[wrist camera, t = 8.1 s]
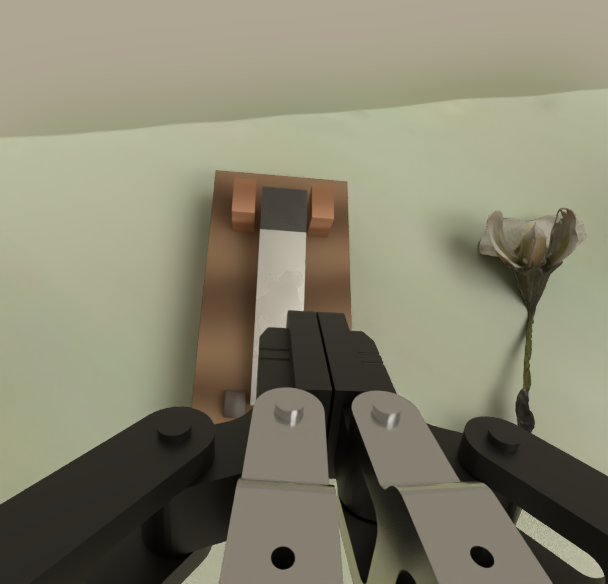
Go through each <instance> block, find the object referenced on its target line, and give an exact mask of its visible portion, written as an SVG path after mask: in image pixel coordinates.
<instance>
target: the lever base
mask: <svg viewBox="0 0 608 584" xmlns="http://www.w3.org/2000/svg"><path fill="white" fill-rule="evenodd" d="M262 187H275V188H287V189H299V190H307V223H306V256H305V290H304V311H315V313H316V312H336V313H344V314H345V317H346V320H347V323H348V326H349V329H350V331H352V327H351V293H350V259H349V225H348V191H347V182H346V181H334V180H323V179H311V178H299V177H288V176H276V175H265V174H253V173H241V172H230V171H218V170H216V173H215V183H214V193H213V202H212V212H211V222H210V231H209V241H208V251H207V261H206V270H205V280H204V290H203V300H202V309H201V319H200V329H199V338H198V348H197V358H196V368H195V377H194V387H193V397H192V406H191V408H194V409H197V410H200V411H202V412H204V413H205V414H207V415H208V416H209V417H210V418H211V419H212V421H213V423H214V424H218V423H223V422H227V421H231V420H234V419H237V418H239V417H241V416H243V415H244V414H246V413H247V412H249V411H250V410H251V409H252V407H253V406H254V405H250V399H251V381H252V363H253V345H254V327H255V309H256V292H257V274H258V256H259V238H260V220H261V202H262Z"/></svg>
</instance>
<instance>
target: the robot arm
mask: <svg viewBox="0 0 608 584" xmlns="http://www.w3.org/2000/svg"><path fill="white" fill-rule="evenodd" d="M329 479H336V481H337V487H338V490H337V496H336V490H335V487H334V485H329ZM522 509H523V510H525V511H526V512H527V513H529V514H530V515H532V516H533V517H535V518H536V519H538V520H539V521H541V522H542V523H544V524H545V525H547V526H548V527H550V528H551V529H553V530H554V531H555V532H557V533H558V534H560V535H561V536H563V537H564V538H566V539H567V540H569V541H570V542H572V543H573V544H575V545H576V546H578V547H579V548H580V549H582V550H583V551H585V552H586V553H588V554H589V555H590V556H591V557H593V558H594V559H595V560H596V562H597V563H598V564H599V565H600V567H601V569H602V570H603V573H604V575H605V576H604V577H602V578H591V577H588V576H585V575H583V574H582V573H580V572H578V571H577V570H576V569H574V568H573V567H571V566H570V565H569V564H567V563H566V562H564V561H563V560H562V559H560V558H559V557H557V556H556V555H555V554H553V553H552V552H550V551H549V550H548V549H546V548H545V547H543V546H542V545H541V544H539V543H538V542H536V541H535V540H534V539H532V538H531V537H529V536H528V535H527V534H525V533H524V532H522V531H521V530H520V529H518V528H517V527H515V525H516V523H517V520H518V518H519V515H520V513H521V510H522ZM339 529H340V533H341V537H342V541H343V545H344V549H345V553H346V557H347V562H348V566H349V570H350V574H351V578H352V582H353V584H608V476H606V475H605V474H603V473H601V472H599V471H598V470H596V469H594V468H592V467H590V466H589V465H587V464H585V463H583V462H581V461H580V460H578V459H576V458H574V457H572V456H571V455H569V454H567V453H565V452H564V451H562V450H560V449H558V448H556V447H555V446H553V445H551V444H549V443H547V442H546V441H544V440H542V439H540V438H539V437H537V436H535V435H533V434H531V433H530V432H528V431H526V430H524V429H522V428H521V427H519V426H517V425H515V424H513V423H511V422H508V421H506V420H503V419H499V418H495V417H476V418H473V419H471V420H470V421H468V422H467V423H466V426H465V428H464V431H463V433H459V432H455V431H451V430H447V429H443V428H439V427H436V426H432V425H430V424H427V423H426V422H425V421H424V419H423V417H422V415H421V414H420V412H419V410H418V409H417V408H416V407H415V405H414V404H412V403H411V402H410V401H409V400H407V399H405V398H404V397H402V396H399V395H397V394H396V391H395V389H394V387H393V384H392V382H391V380H390V377H389V375H388V373H387V370H386V368H385V366H384V365H383V361H382V359H381V356H380V355H379V352H378V349H377V347H376V345H375V342H374V341H373V340H372V339H370V338H369V337H368V336H367V335H366V334H365V333H364V332H362V331H350V329H349V326H348V323H347V320H346V317H345V314H344V313H336V312H316V313H315V311H296V310H288V313H287V322H286V328H277V327H268V328H267V329H266V330H265V331H264V332H263V333H262V334H261V335H260V337H259V353H258V370H257V387H256V401H255V403H254V406H253V407H252V409H251V410H250V411H249V412H247V413H246V414H244V415H243V416H241V417H239V418H237V419H234V420H231V421H227V422H223V423H218V424H214V423H213V421H212V419H211V418H210V417H209V416H208V415H207V414H205V413H204V412H202V411H200V410H197V409H194V408H189V407H171V408H165V409H162V410H159V411H156V412H154V413H152V414H150V415H148V416H146V417H145V418H143V419H142V420H140V421H138V422H137V423H135V424H133V425H132V426H130V427H128V428H127V429H125V430H123V431H122V432H120V433H118V434H117V435H115V436H113V437H112V438H110V439H108V440H107V441H105V442H103V443H102V444H100V445H98V446H97V447H95V448H93V449H92V450H90V451H88V452H87V453H85V454H83V455H82V456H80V457H78V458H77V459H75V460H74V461H72V462H70V463H69V464H67V465H65V466H64V467H62V468H60V469H59V470H57V471H55V472H54V473H52V474H50V475H49V476H47V477H45V478H44V479H42V480H40V481H39V482H37V483H35V484H34V485H32V486H30V487H29V488H27V489H25V490H24V491H22V492H20V493H19V494H17V495H15V496H14V497H12V498H10V499H9V500H7V501H6V502H4V503H2V504H1V505H0V584H181V583H182V582H183V581H184V580H185V579H186V578H187V577H188V576H189V575H190V574H191V573H192V572H193V571H194V570H195V569H196V568H197V567H198V566H199V565H200V564H201V563H202V562H203V560H204V559H205V558H206V557H207V555H208V554H209V552H210V550H211V547H212V545H215V544H218V543H221V542H224V541H226V546H225V552H224V557H223V563H222V569H221V574H220V580H219V584H343V575H342V562H341V549H340V536H339Z"/></svg>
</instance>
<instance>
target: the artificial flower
mask: <svg viewBox="0 0 608 584" xmlns="http://www.w3.org/2000/svg"><path fill="white" fill-rule="evenodd" d="M562 209H565V210H567V212H565V211H562ZM559 211H561V214H562V215H558V213H559ZM558 213H557V215H548V216H544V217H541V218H539V219H537V220H531V221H520V220H517V219H512V218H504V219H503V215H502V212H500V211H495V212H493V213H492V214H490V215H489V217H488V220H487V229H486V232H485V234H484V236H483V237H482V238H481V241H480V244H479V251H480V253H481V254H483V255H484V254H485V255H489V256H492V257H493V256H498V257H499V258H500V259H501V260H502V261H503V264H504V265H505V267H507V268H510V269H511V270H513V271H514V275H515V278H516V280H517V282H518V288H519V289H520V291H521V295H522V297H523V298H524V300H525V304H526V306H527V308H528V315H529V320H528V328H527V334H526V344H525V357H524V374H523V381H524V384H523V389H521V390H520V392H519V394H518V396H517V401H516V416H517V425H518V426H519V427H521V428H522V429H524V430H526V431H528V432H530V433H531V432H532V430H533V429H534V425H535V421H534V416H533V414H532V412H531V411H530V410H529V405H528V402H529V398H528V391H529V389H530V386H531V376H530V370H529V368H530V364H529V360H530V358H531V351H532V348H531V347H532V340H531V338H532V334H531V333H532V324H533V323H534V320H533V317H534V315H535V310H536V305H537V303H538V301H539V299H540V297H541V296H542V294H543V291H544V289H545V287H546V283H547V281H548V278H549V276H550V274H551V273H552V272H553V271H554V270H555V269H556V268H557V267H559V266H560V265H561V264H562V263H563V262H562V260H563V259H565V258H566V257H567V256H568V255H570V254H571V253H572V252H573V251H574V250H575V248H576V247H577V246H578V245H579V244H581V243H582V242H583V241H584V239H585V238H586V235H587V234H585V233H584V226H583V222H581V221H577V218H576V215H575V213H574V212H573V211H572V210H570V209H567V208H560V209H559V210H558Z"/></svg>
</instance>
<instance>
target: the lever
mask: <svg viewBox="0 0 608 584" xmlns="http://www.w3.org/2000/svg"><path fill="white" fill-rule="evenodd" d="M306 223H307V190H299V189H287V188H275V187H262V202H261V220H260V238H259V256H258V274H257V292H256V309H255V327H254V345H253V363H252V381H251V399H250V405H254V403H255V401H256V387H257V370H258V353H259V337H260V335H261V334H262V333H263V332H264V331H265V330H266V329H267V328H268V327H277V328H286V322H287V313H288V310H296V311H304V290H305V256H306Z"/></svg>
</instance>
